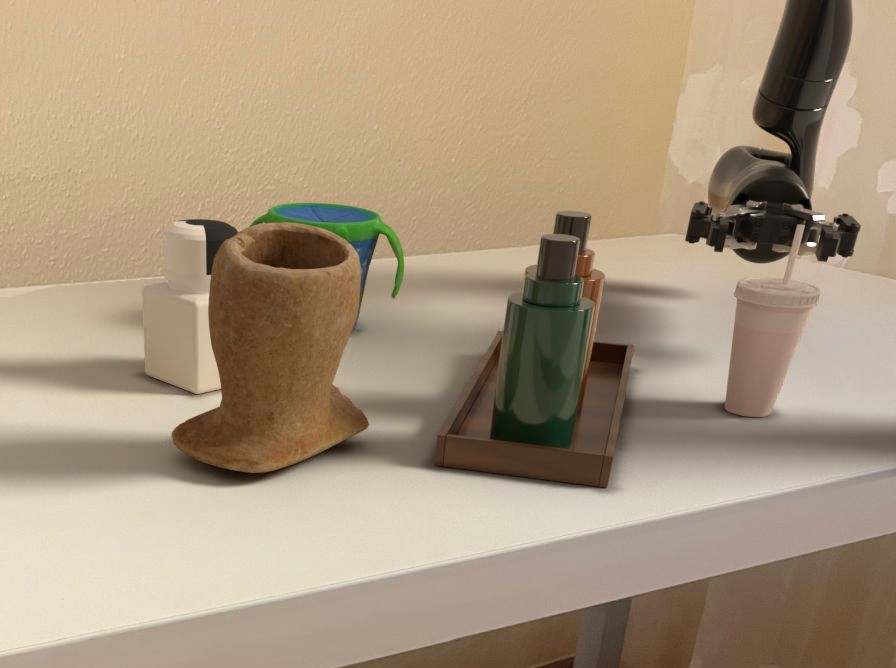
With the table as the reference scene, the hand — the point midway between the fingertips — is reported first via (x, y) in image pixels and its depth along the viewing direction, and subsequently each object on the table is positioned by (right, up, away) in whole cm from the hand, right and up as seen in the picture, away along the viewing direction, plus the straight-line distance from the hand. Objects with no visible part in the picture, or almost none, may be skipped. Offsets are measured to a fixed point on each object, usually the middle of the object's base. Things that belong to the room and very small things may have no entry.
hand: (773, 243), depth 101 cm
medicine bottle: (-48, -12, 0) cm, 50 cm away
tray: (-20, -16, -5) cm, 26 cm away
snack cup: (-38, -1, +15) cm, 41 cm away
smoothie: (-3, -15, -2) cm, 15 cm away
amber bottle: (-20, -15, -5) cm, 26 cm away
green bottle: (-23, -21, -13) cm, 34 cm away
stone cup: (-41, -22, -15) cm, 49 cm away
